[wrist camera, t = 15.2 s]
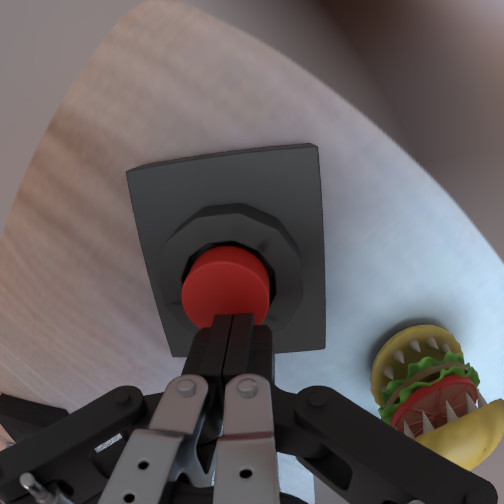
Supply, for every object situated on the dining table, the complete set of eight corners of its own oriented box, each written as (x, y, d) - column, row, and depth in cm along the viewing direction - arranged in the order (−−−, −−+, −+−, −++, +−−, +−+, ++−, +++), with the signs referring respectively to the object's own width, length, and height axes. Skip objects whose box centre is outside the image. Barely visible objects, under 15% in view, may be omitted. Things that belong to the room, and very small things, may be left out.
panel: (118, 479, 30) (111, 498, 27) (54, 462, 31) (46, 477, 28) (65, 409, 25) (53, 431, 22) (1, 393, 26) (-12, 410, 23)
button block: (320, 327, 20) (330, 370, 16) (180, 336, 20) (164, 377, 17) (311, 143, 16) (324, 148, 12) (141, 165, 16) (108, 177, 13)
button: (272, 313, 15) (273, 335, 13) (198, 318, 15) (190, 339, 14) (265, 241, 14) (264, 257, 12) (183, 249, 14) (172, 265, 12)
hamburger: (453, 296, 18) (551, 427, 7) (454, 368, 21) (515, 485, 10) (349, 337, 20) (395, 506, 9) (366, 403, 22) (397, 538, 11)
